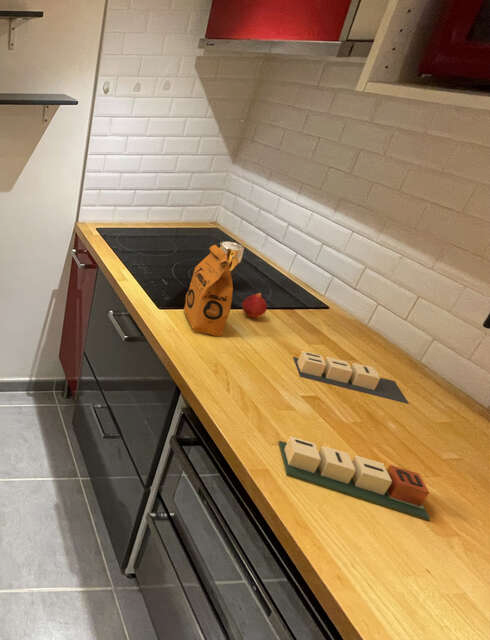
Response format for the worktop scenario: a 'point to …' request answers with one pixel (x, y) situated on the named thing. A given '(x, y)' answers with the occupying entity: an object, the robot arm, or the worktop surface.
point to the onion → (254, 305)
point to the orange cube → (407, 486)
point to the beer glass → (232, 255)
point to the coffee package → (210, 294)
